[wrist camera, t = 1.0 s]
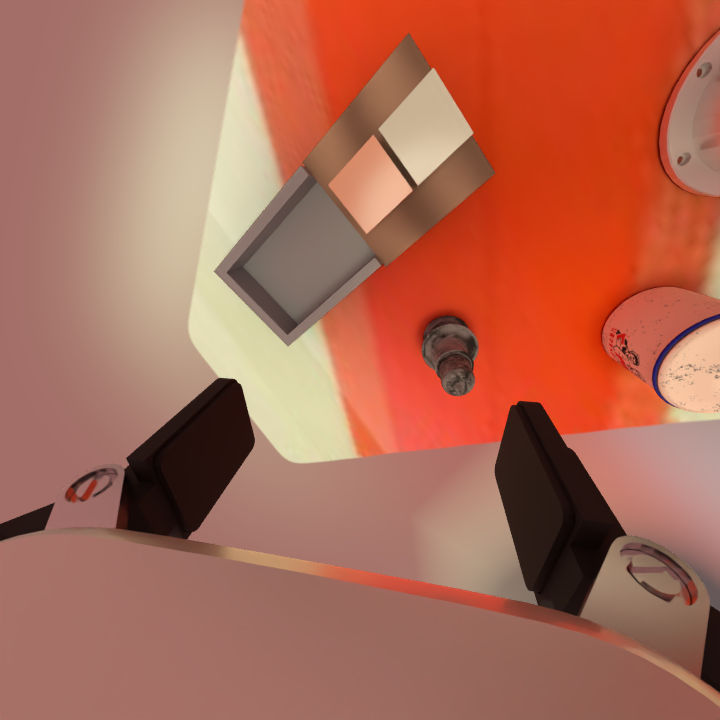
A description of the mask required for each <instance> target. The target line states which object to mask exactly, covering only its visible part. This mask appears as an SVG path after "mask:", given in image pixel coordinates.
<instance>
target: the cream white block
mask: <svg viewBox="0 0 720 720" xmlns="http://www.w3.org/2000/svg"><path fill="white" fill-rule="evenodd" d="M378 130H379V132H380V134H381V137H382V138H383V140H384V141H385V143H386V144H387V145H388V147H389V148H390V150H391V151H392V153H393V154H394V155H395V157H396V158H397V160H398V161H399V162H400V164H401V165H402V167H403V168H404V170H405V171H406V172H407V174H408V175H409V177H410V178H411V179H412V181H413V182H414V184H415V185H416V187H417V188H418V187H419V186H420V185H421V184H422V183H423V182H424V181H425V180H426V179H427V178H428V177H429V176H430V175H432V174H433V173H434V172H435V171H436V170H437V169H438V168H439V167H440V166H441V165H442V164H443V163H444V162H445V161H446V160H447V159H448V158H450V157H451V156H452V155H453V154H454V153H455V152H456V151H457V150H458V149H459V148H460V147H461V146H462V145H463V144H464V143H465V142H467V140H468V139H469V138H470V137H471V136H472V134H473V133H474V132H473V131H472V129H471V128H470V126H469V124H468V123H467V121H466V119H465V118H464V116H463V115H462V113H461V111H460V110H459V108H458V106H457V105H456V103H455V102H454V100H453V98H452V97H451V95H450V93H449V92H448V90H447V88H446V87H445V85H444V84H443V82H442V80H441V79H440V77H439V75H438V74H437V72H436V71H435V69H434V67H433V69H432V70H431V71H430V72H429V73H428V74H427V75H426V76H425V78H424V79H423V80H422V81H421V82H420V83H419V84H418V85H417V86H416V88H415V89H414V90H413V91H412V92H411V93H410V94H409V95H408V96H407V98H406V99H405V100H404V101H403V102H402V103H401V104H400V105H399V106H398V108H397V109H396V110H395V111H394V112H393V113H392V114H391V115H390V117H389V118H388V119H387V120H386V121H385V122H384V123H383V124H382V125H381V127H380V128H379V129H378Z"/></svg>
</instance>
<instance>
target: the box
mask: <svg viewBox="0 0 720 720" xmlns="http://www.w3.org/2000/svg"><path fill="white" fill-rule="evenodd" d="M381 265H382V262H381V261H380V259H379V258H378V257H377V256H376V254H375V253H374V252H373V251H372V249H371V248H370V247H369V246H368V244H367V243H366V242H365V241H364V239H363V238H362V237H361V236H360V234H359V233H358V232H357V231H356V229H355V228H354V227H353V226H352V224H351V223H350V222H349V221H348V219H347V218H346V217H345V216H344V214H343V213H342V212H341V211H340V209H339V208H338V207H337V206H336V204H335V203H334V202H333V201H332V199H331V198H330V197H329V196H328V194H327V193H326V192H325V191H324V189H323V188H322V187H321V186H320V184H319V183H318V182H317V180H316V179H315V178H314V177H313V175H312V174H311V173H310V172H309V170H308V169H307V168H306V167H303V166H300V167H299V168H298V169H297V171H296V172H295V173H294V174H293V175H292V177H291V178H290V179H289V180H288V182H287V183H286V184H285V185H284V186H283V188H282V189H281V190H280V191H279V193H278V194H277V195H276V196H275V197H274V199H273V200H272V201H271V202H270V204H269V205H268V206H267V207H266V208H265V210H264V211H263V212H262V213H261V215H260V216H259V217H258V218H257V219H256V221H255V222H254V223H253V224H252V225H251V227H250V228H249V229H248V230H247V232H246V233H245V234H244V235H243V236H242V238H241V239H240V240H239V241H238V243H237V244H236V245H235V246H234V247H233V249H232V250H231V251H230V252H229V254H228V255H227V256H226V257H225V258H224V260H223V261H222V262H221V263H220V265H219V266H218V267H217V268H216V269H215V271H214V272H215V273H216V274H217V275H218V276H219V277H220V278H221V279H222V280H223V281H224V282H225V283H226V284H227V285H228V286H229V287H230V288H231V289H232V290H233V291H234V292H235V293H236V294H237V295H238V296H239V297H240V298H241V299H242V300H243V301H244V302H245V303H246V304H247V305H248V306H249V307H250V308H251V309H252V310H253V311H254V312H255V313H256V314H257V316H258V317H259V318H260V319H261V320H262V321H263V322H264V323H265V324H266V325H267V326H268V327H269V328H270V329H271V330H272V331H273V332H274V333H275V334H276V335H277V336H278V337H279V338H280V339H281V340H282V341H283V342H284V343H285V344H286V345H287V346H289V345H290V344H291V343H293V342H294V341H295V340H296V339H297V338H298V337H300V336H301V335H302V334H303V333H304V332H305V331H306V330H308V329H309V328H310V327H311V326H312V325H313V324H315V323H316V322H317V321H318V320H319V319H320V318H321V317H323V316H324V315H325V314H326V313H327V312H328V311H330V310H331V309H332V308H333V307H334V306H335V305H337V304H338V303H339V302H340V301H341V300H342V299H343V298H345V297H346V296H347V295H348V294H349V293H350V292H352V291H353V290H354V289H355V288H356V287H357V286H358V285H360V284H361V283H362V282H363V281H364V280H365V279H367V278H368V277H369V276H370V275H371V274H372V273H374V272H375V271H376V270H377V269H378V268H379V267H380V266H381Z"/></svg>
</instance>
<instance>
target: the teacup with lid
mask: <svg viewBox="0 0 720 720" xmlns="http://www.w3.org/2000/svg"><path fill="white" fill-rule="evenodd" d="M602 343H603V346H604V349H605V351H606V352H607V353H608V355H609V356H610V357H612V358H613V359H614V360H616V361H617V362H618V363H620V364H621V365H622V366H624V367H625V368H626V369H628V370H629V371H630V372H632V373H633V374H634V375H636V376H637V377H638V378H640V379H641V380H642V381H644V382H645V383H646V384H648V385H649V386H650V387H652V388H653V389H654V390H655V391H656V393H657V394H658V396H659V397H660V398H661V399H662V400H664V401H665V402H666V403H668V404H670V405H672V406H674V407H677V408H680V409H683V410H687V411H692V412H700V413H715V412H720V300H719V299H716V298H712V297H709V296H706V295H702V294H699V293H696V292H692V291H689V290H685V289H682V288H677V287H659V288H653V289H649V290H646V291H643V292H641V293H638V294H636V295H634V296H632V297H630V298H629V299H627V300H626V301H624V302H623V303H622V304H621V305H619V306H618V307H617V308H616V309H615V310H614V311H613V313H612V314H611V315H610V316H609V318H608V320H607V321H606V323H605V326H604V328H603V332H602Z"/></svg>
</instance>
